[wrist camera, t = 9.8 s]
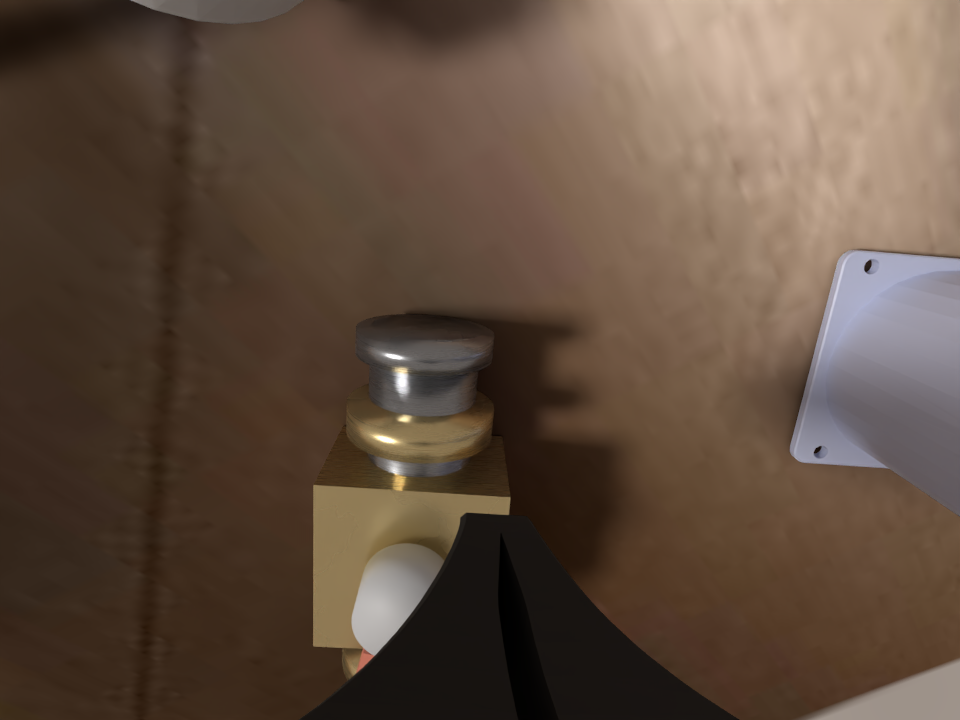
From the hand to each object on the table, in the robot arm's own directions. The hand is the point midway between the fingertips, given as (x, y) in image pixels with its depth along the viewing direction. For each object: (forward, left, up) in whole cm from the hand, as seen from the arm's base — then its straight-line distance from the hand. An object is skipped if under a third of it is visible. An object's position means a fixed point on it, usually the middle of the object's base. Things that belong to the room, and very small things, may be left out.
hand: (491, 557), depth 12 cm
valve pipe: (+2, +5, -10) cm, 12 cm away
